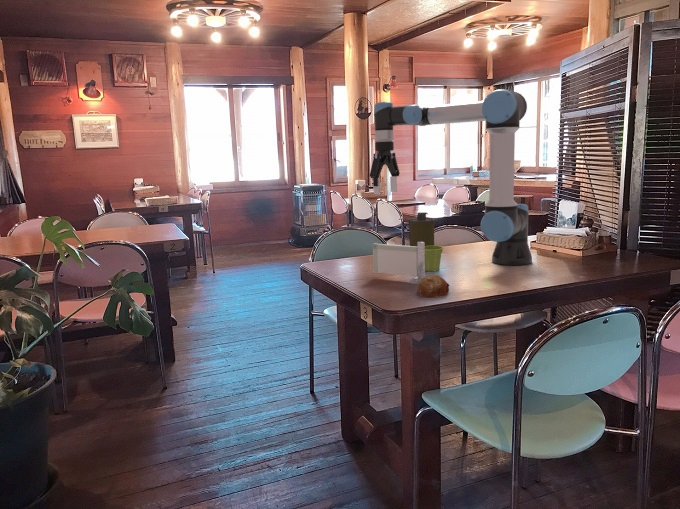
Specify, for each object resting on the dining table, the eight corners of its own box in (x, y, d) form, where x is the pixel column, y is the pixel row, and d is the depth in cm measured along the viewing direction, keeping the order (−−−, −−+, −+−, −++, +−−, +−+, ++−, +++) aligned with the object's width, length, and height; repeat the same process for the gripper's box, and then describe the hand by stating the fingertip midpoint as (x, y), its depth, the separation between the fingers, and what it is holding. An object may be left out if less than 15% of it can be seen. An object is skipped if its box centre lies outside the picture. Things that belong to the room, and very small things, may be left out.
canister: (434, 258, 233) (433, 211, 230) (435, 263, 223) (435, 213, 220) (408, 259, 235) (407, 211, 231) (408, 264, 224) (407, 214, 221)
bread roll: (419, 301, 182) (408, 280, 180) (447, 286, 182) (436, 265, 180) (426, 309, 172) (415, 287, 171) (456, 293, 172) (445, 271, 171)
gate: (418, 276, 193) (418, 245, 191) (416, 277, 192) (416, 246, 190) (375, 271, 203) (375, 243, 201) (373, 272, 202) (372, 243, 200)
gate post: (433, 281, 193) (432, 241, 190) (425, 285, 188) (425, 244, 185) (417, 279, 196) (417, 240, 194) (409, 283, 191) (409, 243, 189)
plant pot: (428, 273, 205) (428, 250, 204) (413, 269, 213) (413, 247, 212) (448, 270, 209) (448, 247, 208) (433, 266, 218) (433, 244, 216)
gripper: (391, 141, 241) (392, 190, 245) (360, 141, 221) (361, 195, 225) (406, 140, 236) (407, 190, 240) (376, 140, 217) (377, 195, 220)
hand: (385, 193), depth 232 cm, fingers open, 13 cm apart
